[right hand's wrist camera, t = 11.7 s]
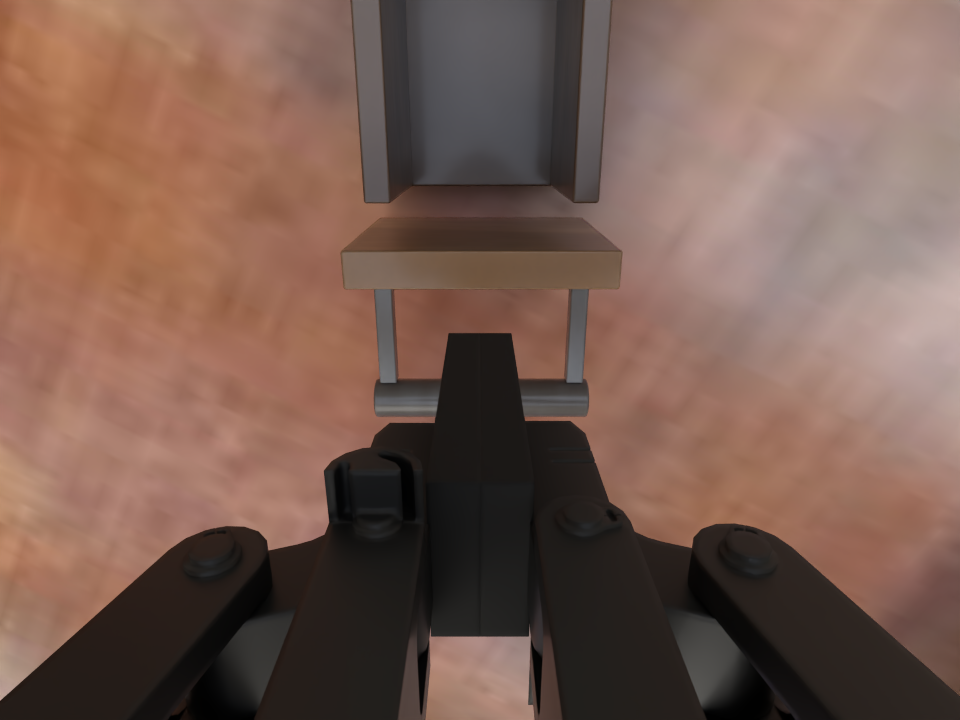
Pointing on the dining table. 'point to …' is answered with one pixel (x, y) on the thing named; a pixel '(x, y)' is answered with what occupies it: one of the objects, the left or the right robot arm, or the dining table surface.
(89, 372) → the dining table surface
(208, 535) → the right robot arm
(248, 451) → the dining table surface
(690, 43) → the dining table surface
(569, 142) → the drawer
